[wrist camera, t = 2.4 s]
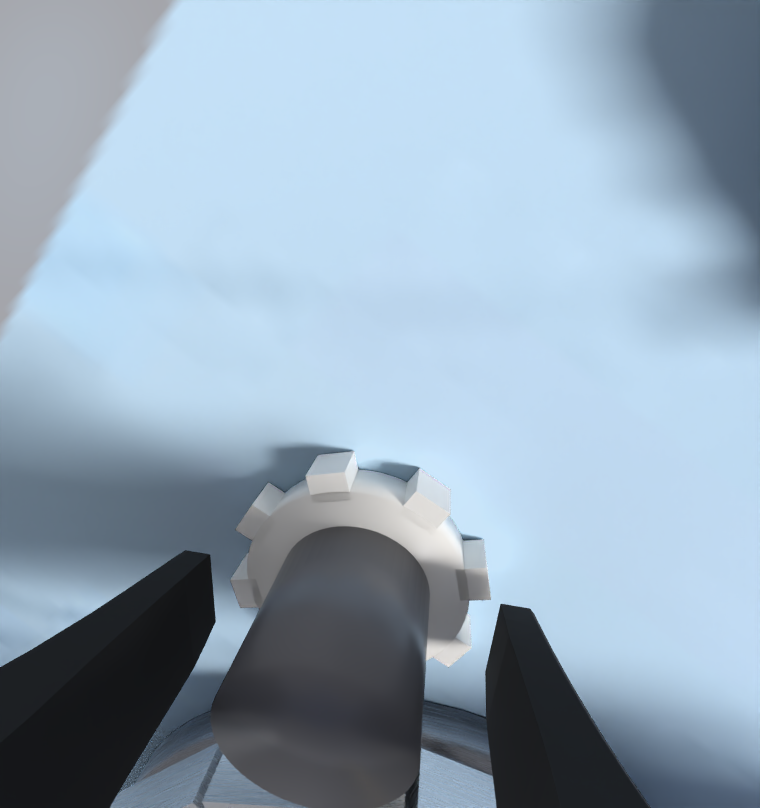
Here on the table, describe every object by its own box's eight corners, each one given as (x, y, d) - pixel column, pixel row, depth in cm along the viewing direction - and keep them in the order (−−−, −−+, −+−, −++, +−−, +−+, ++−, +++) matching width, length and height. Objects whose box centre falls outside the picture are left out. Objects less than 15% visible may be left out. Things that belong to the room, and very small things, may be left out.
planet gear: (470, 439, 10) (484, 586, 6) (498, 650, 12) (522, 871, 8) (216, 465, 11) (78, 602, 7) (281, 652, 13) (203, 843, 9)
